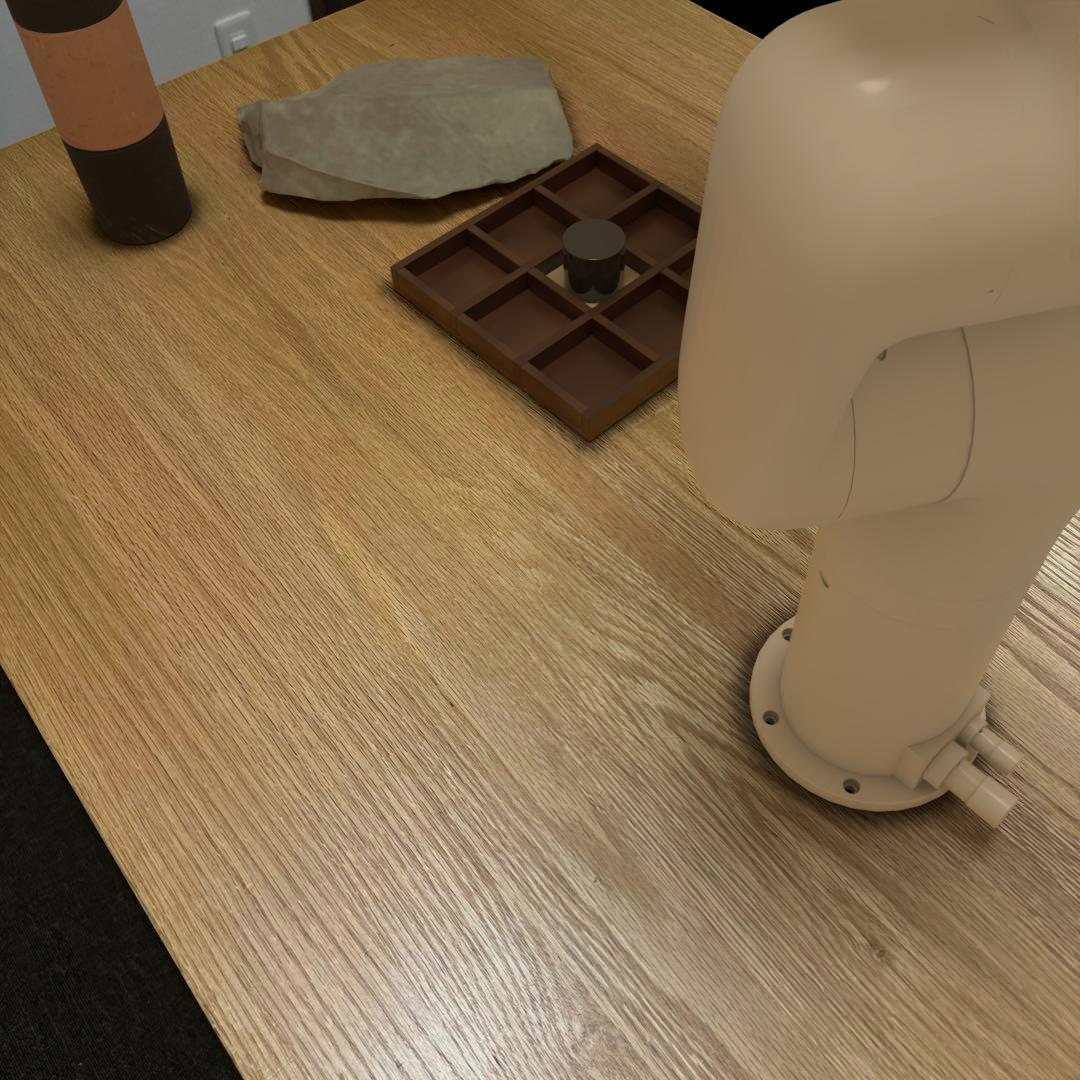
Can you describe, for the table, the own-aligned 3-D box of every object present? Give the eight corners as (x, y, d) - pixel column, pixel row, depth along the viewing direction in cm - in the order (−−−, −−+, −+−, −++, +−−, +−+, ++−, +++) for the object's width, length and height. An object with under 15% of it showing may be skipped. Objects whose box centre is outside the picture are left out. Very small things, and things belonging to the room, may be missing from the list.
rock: (234, 177, 86) (226, 35, 98) (248, 248, 90) (238, 105, 103) (595, 148, 90) (544, 16, 102) (590, 218, 94) (541, 83, 107)
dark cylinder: (637, 283, 86) (638, 238, 83) (593, 312, 84) (593, 268, 81) (594, 254, 88) (594, 210, 85) (551, 282, 86) (549, 238, 83)
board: (796, 290, 86) (800, 267, 84) (589, 442, 78) (589, 419, 77) (596, 165, 96) (596, 142, 94) (393, 289, 88) (389, 266, 86)
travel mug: (93, 197, 96) (-8, -50, 80) (189, 176, 97) (108, -71, 81) (102, 256, 91) (-3, 7, 75) (201, 234, 92) (118, -16, 76)
